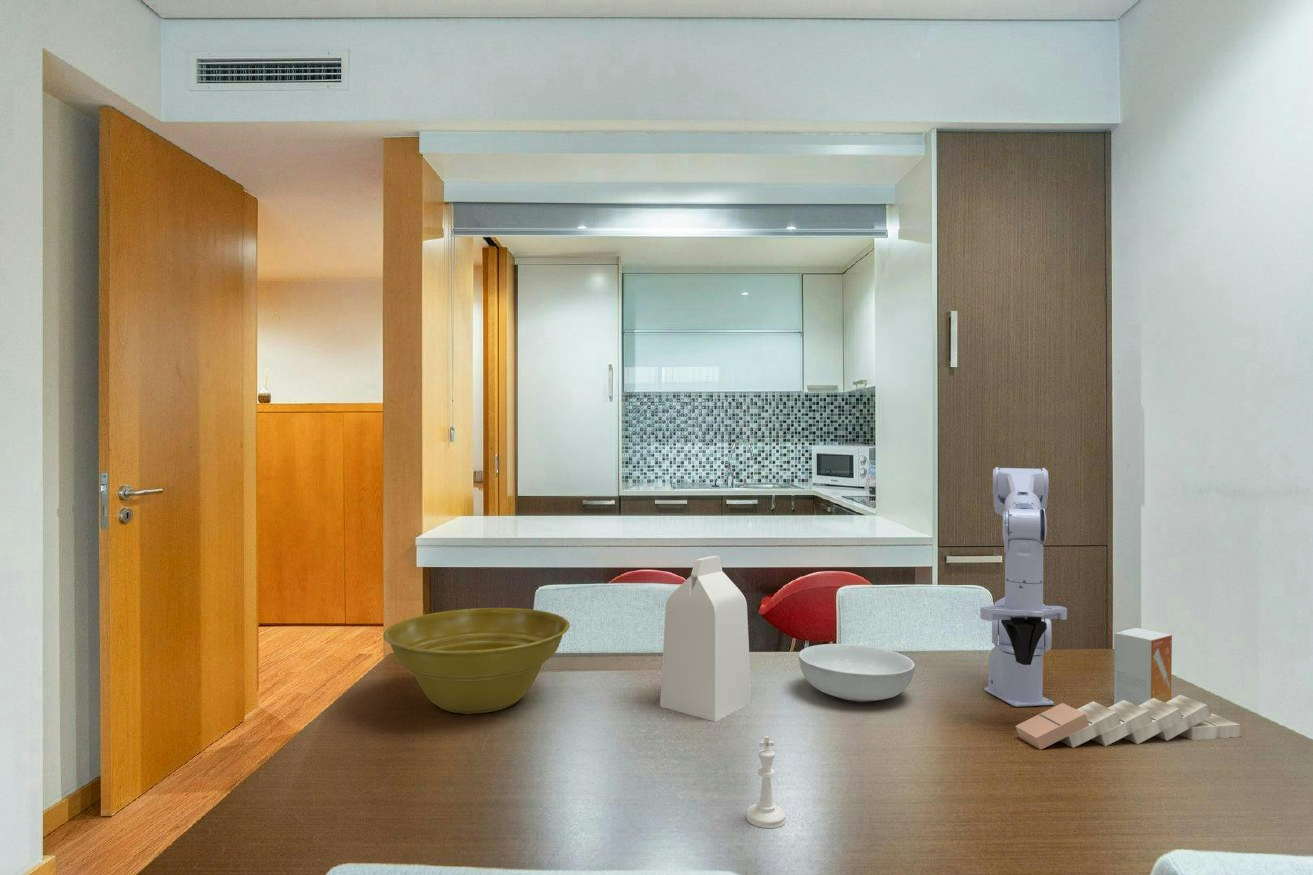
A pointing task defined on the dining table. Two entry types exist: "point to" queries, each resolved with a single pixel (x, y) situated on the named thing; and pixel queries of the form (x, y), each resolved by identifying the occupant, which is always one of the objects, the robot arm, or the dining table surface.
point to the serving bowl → (856, 671)
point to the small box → (1142, 666)
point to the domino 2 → (1125, 722)
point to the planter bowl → (476, 654)
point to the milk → (706, 645)
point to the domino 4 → (1185, 716)
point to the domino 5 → (1213, 729)
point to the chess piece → (766, 794)
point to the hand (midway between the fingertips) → (1023, 663)
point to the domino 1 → (1093, 723)
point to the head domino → (1052, 726)
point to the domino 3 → (1156, 720)
